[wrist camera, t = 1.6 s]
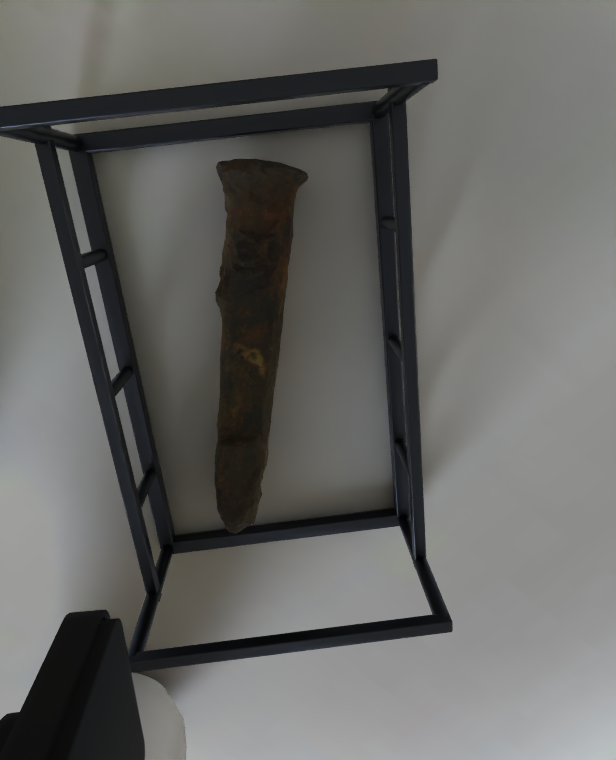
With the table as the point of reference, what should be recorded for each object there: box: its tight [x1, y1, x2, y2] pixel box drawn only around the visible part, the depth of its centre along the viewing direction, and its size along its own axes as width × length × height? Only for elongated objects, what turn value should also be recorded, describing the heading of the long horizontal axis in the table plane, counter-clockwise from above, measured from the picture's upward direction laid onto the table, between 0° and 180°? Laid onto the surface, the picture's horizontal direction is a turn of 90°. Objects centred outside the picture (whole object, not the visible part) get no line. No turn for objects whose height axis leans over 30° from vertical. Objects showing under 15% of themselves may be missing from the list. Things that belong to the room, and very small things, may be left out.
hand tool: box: [215, 159, 308, 534], centre depth 27 cm, size 19×4×5 cm, turn 171°
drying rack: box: [0, 59, 453, 673], centre depth 25 cm, size 15×23×9 cm, turn 6°
